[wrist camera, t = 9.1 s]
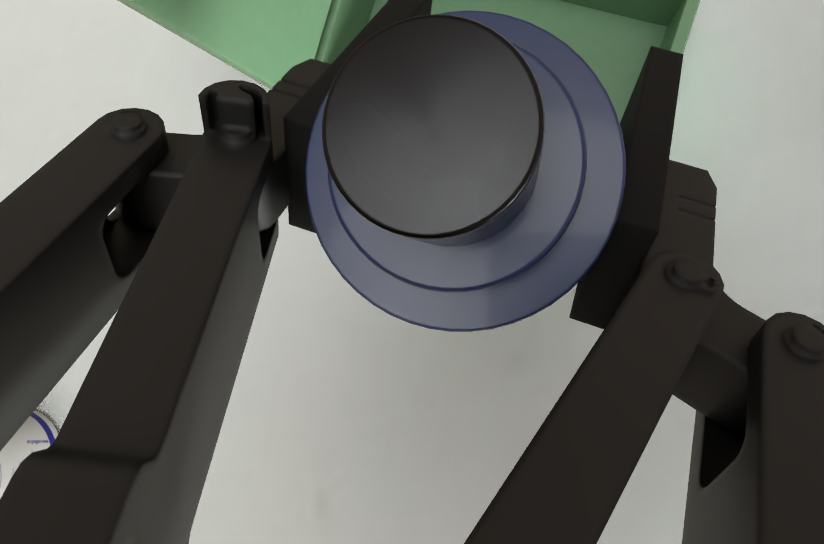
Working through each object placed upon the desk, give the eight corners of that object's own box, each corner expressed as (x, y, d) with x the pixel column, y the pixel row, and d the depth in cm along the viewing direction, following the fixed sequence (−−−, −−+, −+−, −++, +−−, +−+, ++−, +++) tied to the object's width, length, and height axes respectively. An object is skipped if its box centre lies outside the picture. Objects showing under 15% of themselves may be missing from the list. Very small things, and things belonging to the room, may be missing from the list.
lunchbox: (679, 22, 35) (708, -23, 30) (617, 210, 36) (634, 199, 30) (382, -49, 38) (358, -102, 32) (330, 127, 38) (298, 103, 33)
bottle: (590, 172, 23) (750, -50, 7) (541, 318, 23) (583, 429, 7) (444, 128, 23) (285, -158, 8) (398, 270, 24) (154, 276, 8)
